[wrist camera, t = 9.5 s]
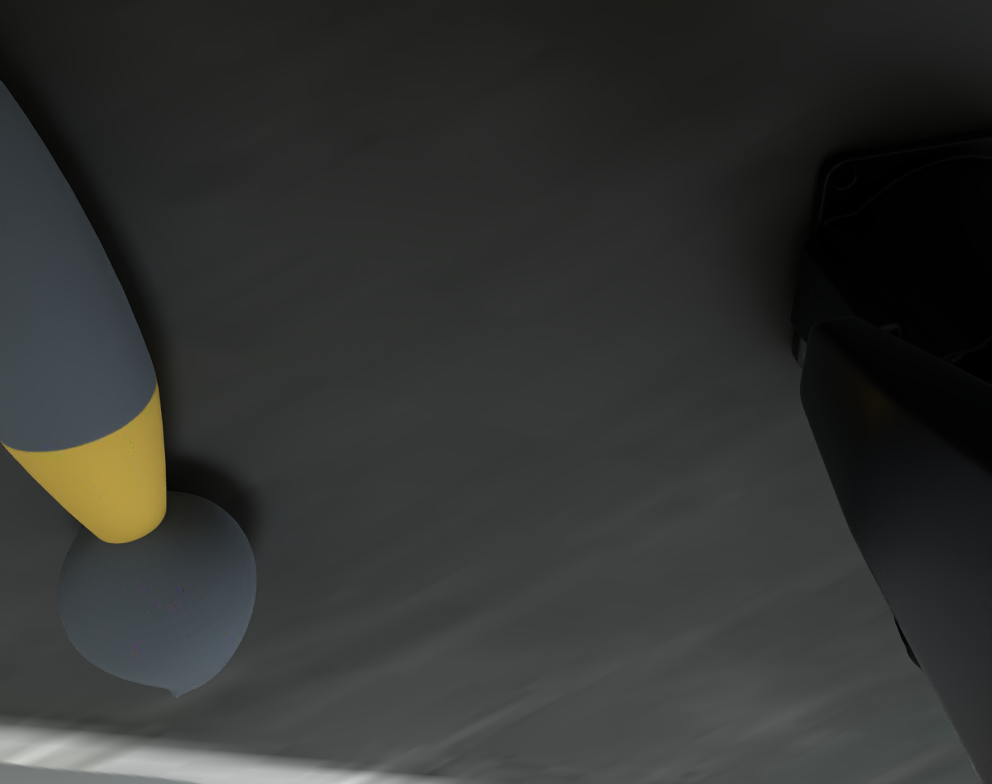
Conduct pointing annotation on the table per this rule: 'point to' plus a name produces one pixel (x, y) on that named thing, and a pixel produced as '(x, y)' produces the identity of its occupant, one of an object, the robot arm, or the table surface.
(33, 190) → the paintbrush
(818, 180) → the robot arm
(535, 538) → the table surface
